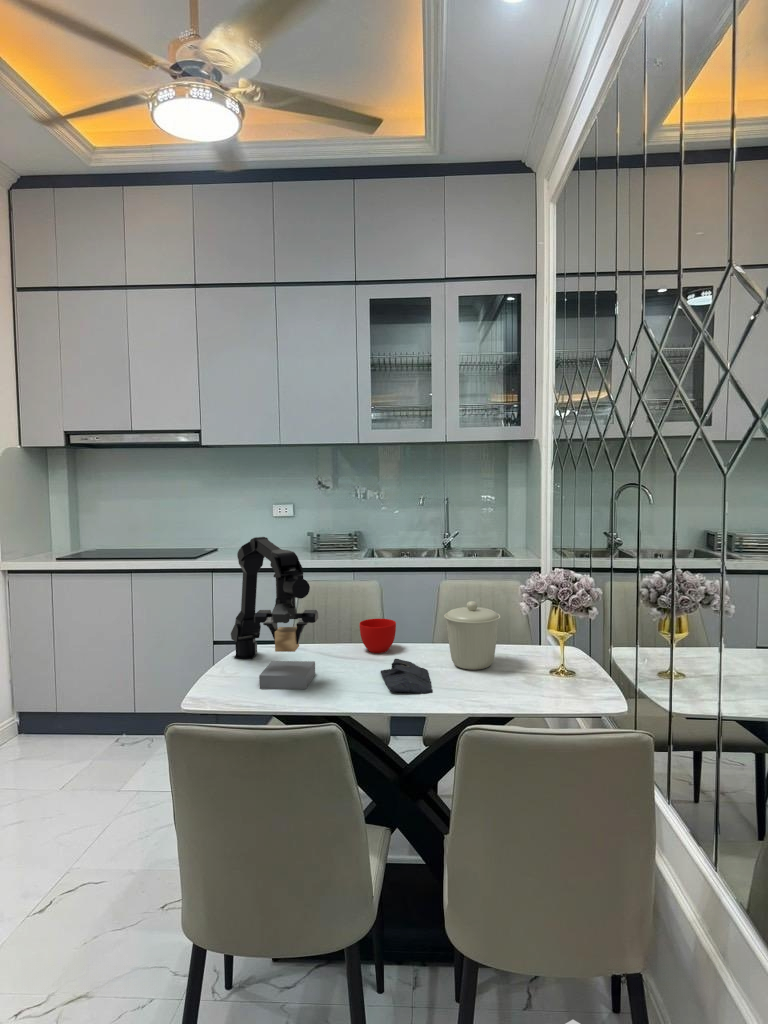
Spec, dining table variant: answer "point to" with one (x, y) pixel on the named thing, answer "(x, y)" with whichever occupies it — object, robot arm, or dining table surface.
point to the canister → (472, 636)
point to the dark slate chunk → (407, 678)
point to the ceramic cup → (377, 634)
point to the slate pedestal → (287, 675)
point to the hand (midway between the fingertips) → (287, 644)
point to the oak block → (286, 639)
